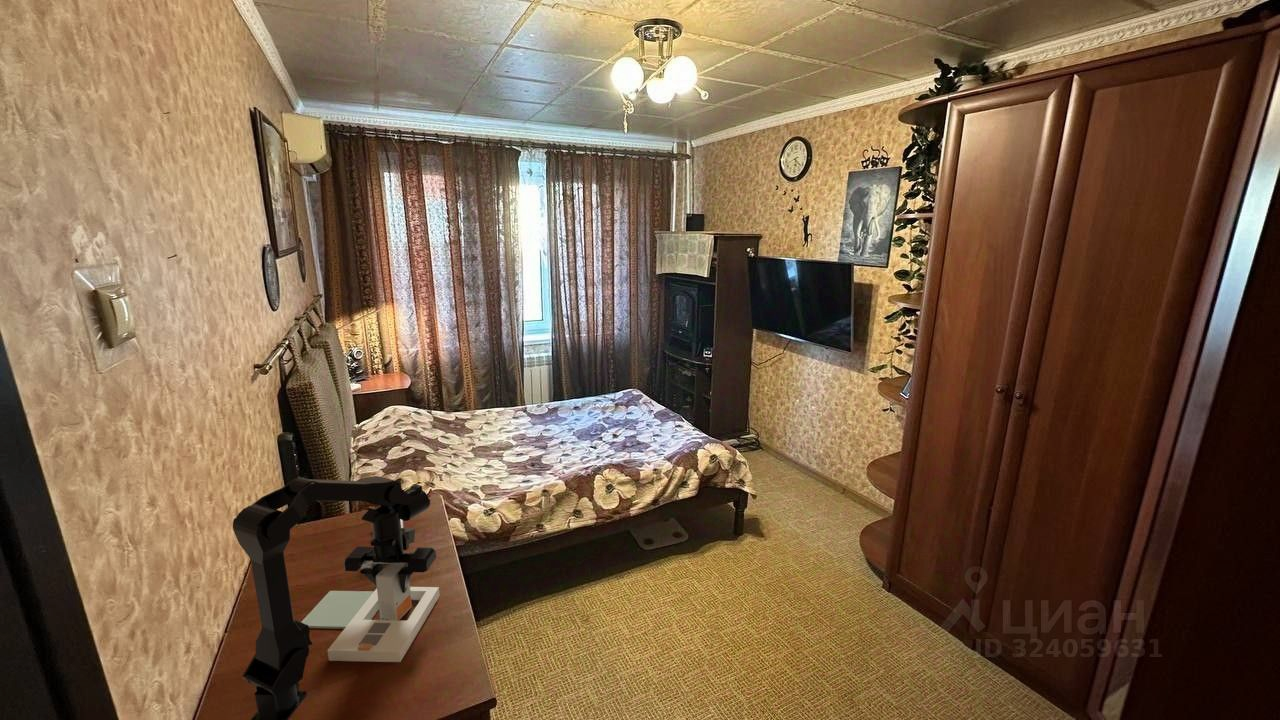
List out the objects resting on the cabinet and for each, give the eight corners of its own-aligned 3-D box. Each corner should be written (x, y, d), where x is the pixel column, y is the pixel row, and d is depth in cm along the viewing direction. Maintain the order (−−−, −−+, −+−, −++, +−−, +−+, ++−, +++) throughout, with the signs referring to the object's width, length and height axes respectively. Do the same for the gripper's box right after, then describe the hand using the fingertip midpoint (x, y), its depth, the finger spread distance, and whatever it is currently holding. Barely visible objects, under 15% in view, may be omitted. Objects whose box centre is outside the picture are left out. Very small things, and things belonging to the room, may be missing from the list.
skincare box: (396, 624, 118) (391, 578, 115) (380, 621, 118) (374, 575, 116) (413, 606, 123) (408, 562, 121) (397, 604, 124) (392, 559, 122)
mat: (351, 629, 116) (350, 626, 116) (298, 628, 116) (297, 625, 116) (378, 593, 128) (378, 591, 128) (330, 592, 128) (330, 590, 128)
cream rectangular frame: (400, 662, 107) (398, 649, 106) (328, 660, 107) (327, 647, 107) (439, 596, 127) (438, 585, 126) (379, 595, 127) (378, 584, 127)
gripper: (442, 513, 124) (447, 570, 127) (365, 511, 124) (372, 569, 128) (422, 539, 113) (428, 601, 116) (338, 537, 113) (346, 599, 117)
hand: (394, 591), depth 120 cm, fingers closed on skincare box, 4 cm apart
